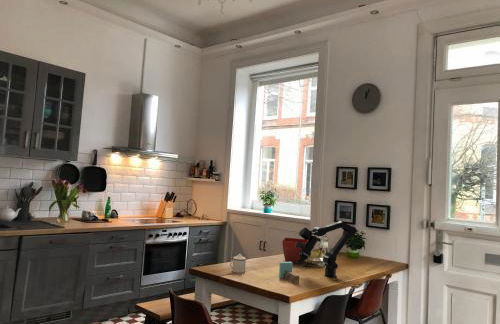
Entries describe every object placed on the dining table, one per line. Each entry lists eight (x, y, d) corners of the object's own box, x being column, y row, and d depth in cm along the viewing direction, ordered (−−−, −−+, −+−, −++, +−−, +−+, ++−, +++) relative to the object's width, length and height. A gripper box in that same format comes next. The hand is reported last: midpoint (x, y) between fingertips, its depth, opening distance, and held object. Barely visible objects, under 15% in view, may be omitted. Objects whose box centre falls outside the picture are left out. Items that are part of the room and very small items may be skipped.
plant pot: (305, 264, 306) (306, 242, 307) (280, 262, 310) (282, 240, 311) (307, 260, 325) (308, 239, 325) (283, 258, 329) (284, 237, 329)
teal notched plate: (290, 277, 263) (290, 261, 263) (291, 278, 260) (292, 262, 261) (279, 277, 260) (279, 262, 260) (280, 278, 257) (281, 262, 258)
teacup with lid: (240, 269, 277) (241, 252, 277) (248, 272, 270) (249, 254, 270) (225, 270, 270) (226, 253, 270) (233, 273, 262) (234, 256, 263)
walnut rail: (281, 276, 263) (281, 268, 263) (284, 276, 264) (284, 268, 264) (295, 284, 245) (295, 276, 245) (298, 284, 245) (299, 276, 246)
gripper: (299, 238, 278) (287, 257, 275) (301, 235, 260) (288, 256, 257) (312, 247, 276) (300, 267, 273) (316, 245, 258) (303, 266, 255)
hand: (298, 263), depth 264 cm, fingers open, 9 cm apart
